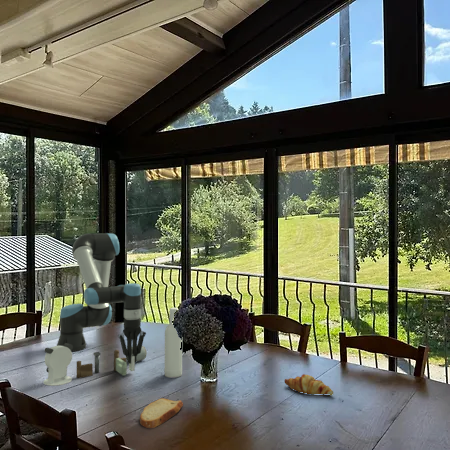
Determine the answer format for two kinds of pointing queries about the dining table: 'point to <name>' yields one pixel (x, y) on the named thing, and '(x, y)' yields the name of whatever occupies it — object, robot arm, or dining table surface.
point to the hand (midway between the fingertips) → (131, 370)
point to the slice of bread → (159, 412)
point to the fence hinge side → (116, 355)
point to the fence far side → (84, 370)
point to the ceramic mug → (141, 354)
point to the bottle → (172, 350)
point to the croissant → (308, 385)
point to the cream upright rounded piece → (58, 364)
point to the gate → (121, 366)
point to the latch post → (96, 361)
